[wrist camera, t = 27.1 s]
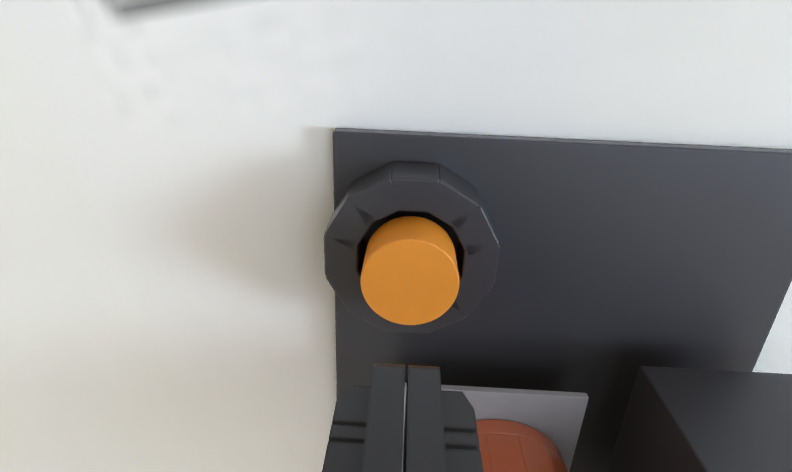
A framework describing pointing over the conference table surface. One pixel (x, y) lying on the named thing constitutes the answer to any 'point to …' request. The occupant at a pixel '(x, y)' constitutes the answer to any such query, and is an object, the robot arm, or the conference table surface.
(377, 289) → the brew button
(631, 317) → the coffee maker base
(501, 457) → the tumbler
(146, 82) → the conference table surface
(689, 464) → the coffee maker
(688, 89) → the conference table surface
